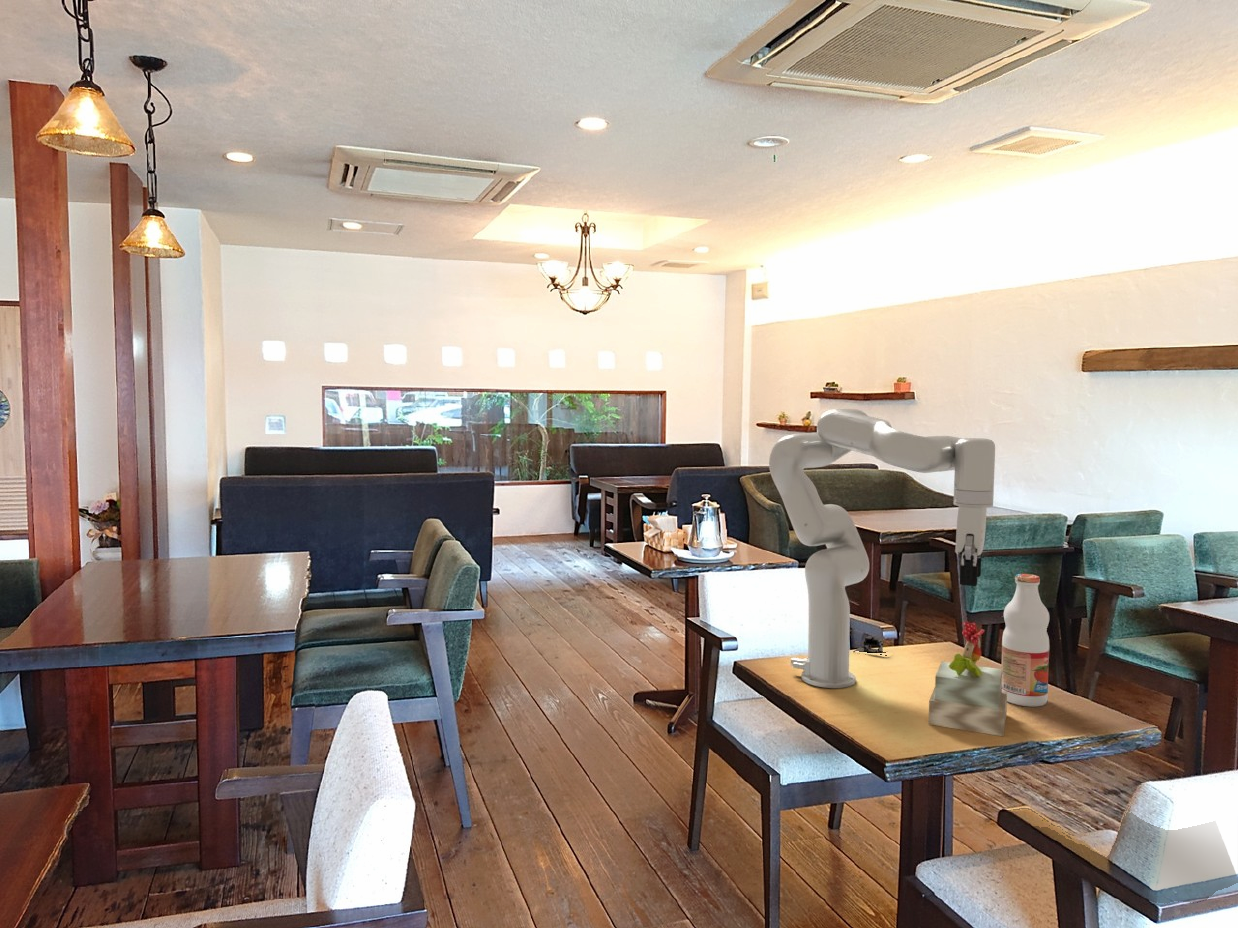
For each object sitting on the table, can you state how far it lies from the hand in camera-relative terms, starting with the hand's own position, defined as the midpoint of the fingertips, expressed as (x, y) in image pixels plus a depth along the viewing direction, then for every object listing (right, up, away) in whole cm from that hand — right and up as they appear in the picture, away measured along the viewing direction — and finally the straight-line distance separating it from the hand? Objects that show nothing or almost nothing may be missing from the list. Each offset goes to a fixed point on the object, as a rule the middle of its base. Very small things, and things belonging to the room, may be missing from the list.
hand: (970, 580), depth 174 cm
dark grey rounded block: (-5, -27, +50) cm, 57 cm away
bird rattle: (0, -20, +1) cm, 20 cm away
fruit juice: (+17, -29, +13) cm, 36 cm away
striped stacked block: (0, -29, +2) cm, 29 cm away
